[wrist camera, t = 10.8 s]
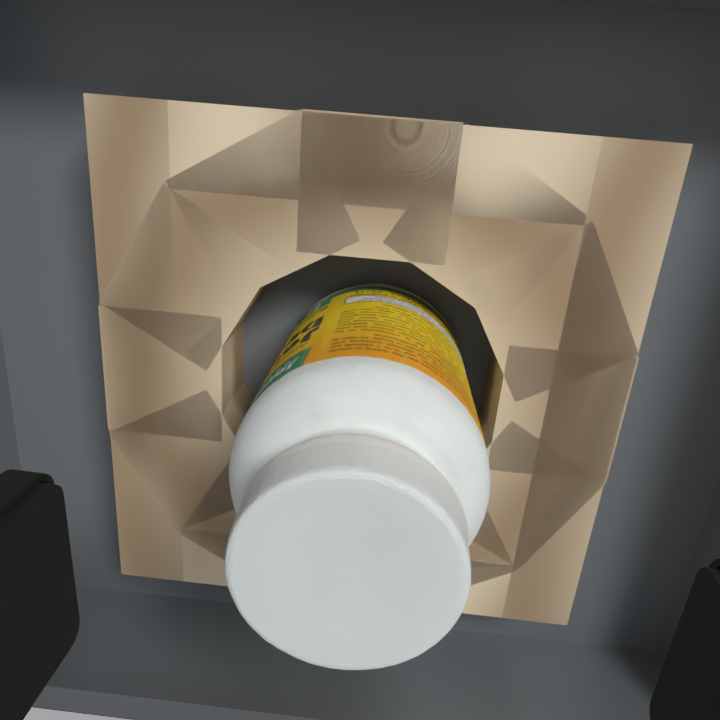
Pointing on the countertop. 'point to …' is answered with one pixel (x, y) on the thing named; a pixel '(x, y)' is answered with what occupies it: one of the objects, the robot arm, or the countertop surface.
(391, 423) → the supplement bottle
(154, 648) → the open box
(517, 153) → the bore plate
